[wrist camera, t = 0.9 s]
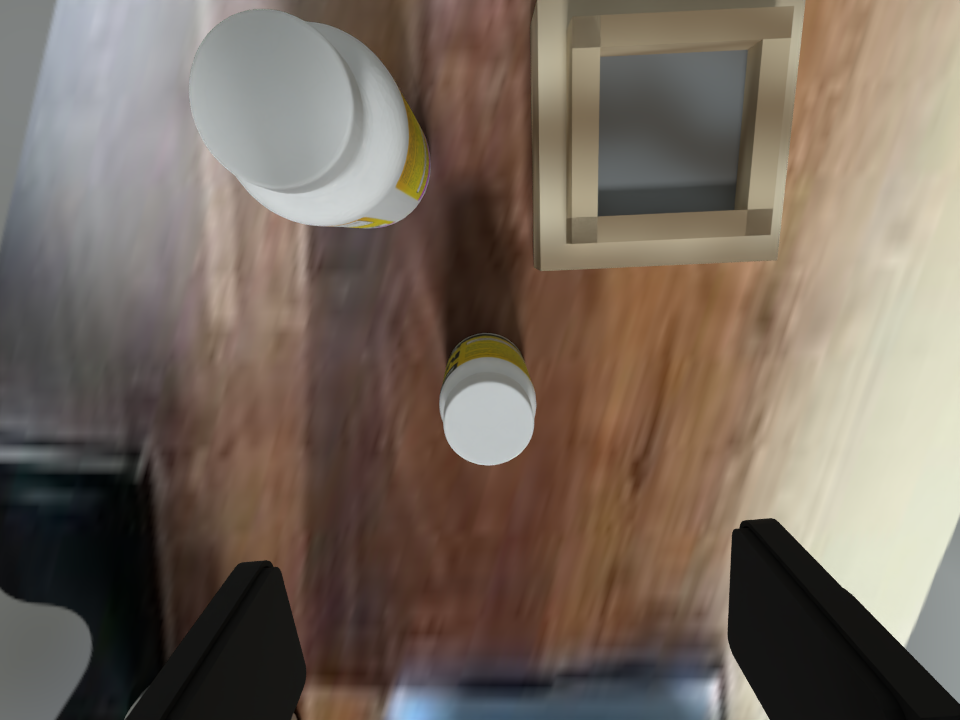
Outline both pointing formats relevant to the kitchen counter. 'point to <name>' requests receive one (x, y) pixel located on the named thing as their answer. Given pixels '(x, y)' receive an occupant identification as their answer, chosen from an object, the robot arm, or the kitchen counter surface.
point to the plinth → (660, 130)
